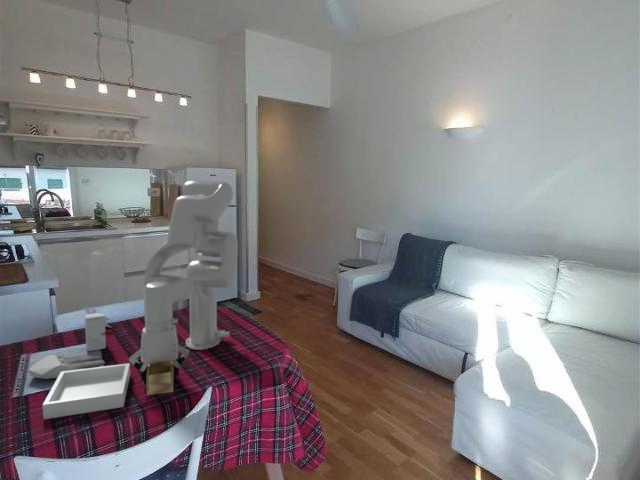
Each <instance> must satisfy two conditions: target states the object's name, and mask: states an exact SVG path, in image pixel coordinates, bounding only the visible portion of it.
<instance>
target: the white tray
mask: <svg viewBox="0 0 640 480" xmlns="http://www.w3.org/2000/svg"><path fill="white" fill-rule="evenodd" d="M130 365H131V362H130V363H122V364H113V365H104V366H97V367H96V366H94V367H86V368H80V369H78V370H70V371H62V372H61V373H60V374H59V376H58V378H56V380H55V382H54V384H53V385H52V387H51V389H50V390H49V393H48V394H47V396H46V397H45V400H44V401H43V403H42V414H43V420H48V419H49V420H50V419H54V418H55V419H56V418H61V417H62V418H63V417H68V416H73V415H80V414H87V413H92V412H93V413H94V412H98V411H99V412H100V411H105V410H111V409H112V410H113V409H118V408H124V407H125V402H126V396H127V393H128V392H127V391H128V388H129V382H130V378H131V366H130Z"/></svg>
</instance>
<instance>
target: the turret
mask: <svg viewBox="0 0 640 480" xmlns="http://www.w3.org/2000/svg"><path fill="white" fill-rule="evenodd" d="M104 364H106V361H104V359H102V357H101V356H100V355H98V354H94V355H88V356H77V357H71V358H69V357H67V358H66V357H62V356H58V355H55V354H51V355H46V356H45V357H43V358H41V359H40V360H38V361H36V362H35V363H34V364H33V365H32V366H31V367H30V368H29V369H28V370H27V371H28V373H29V375H30V376H31V377H34V378H37V379H46V380H49V379H57V378H58V376H59V374H60V373H61V372H62V371H70V370H78V369H87V368H91V367H96V366H101V365H104Z"/></svg>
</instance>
